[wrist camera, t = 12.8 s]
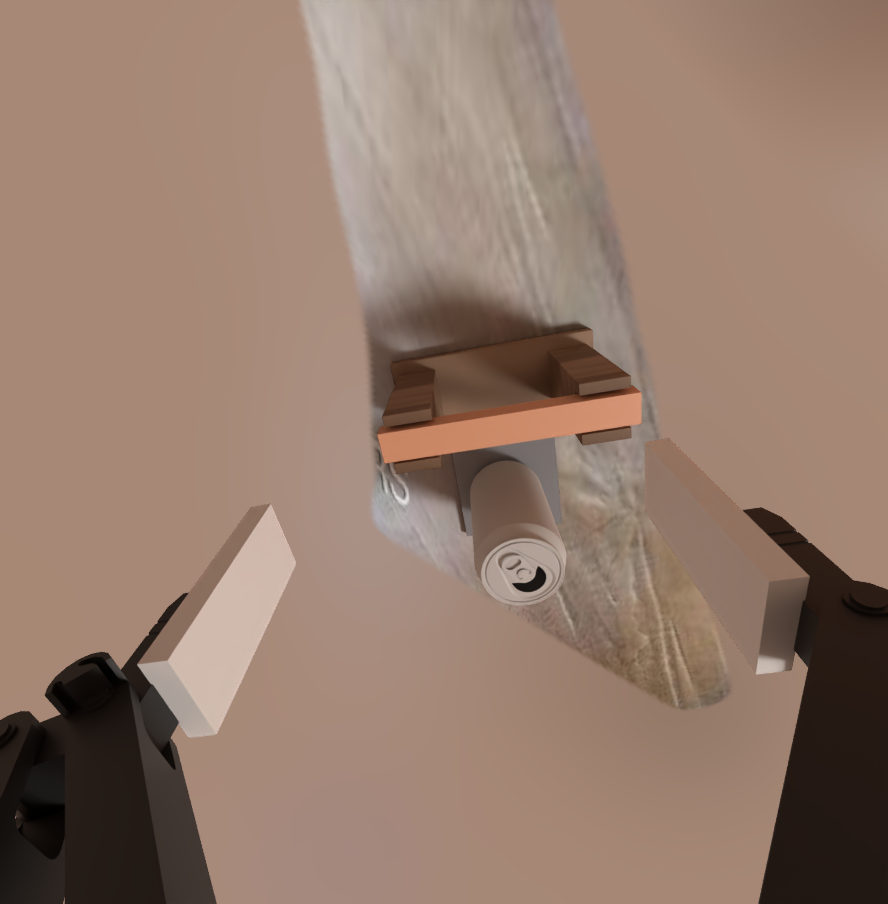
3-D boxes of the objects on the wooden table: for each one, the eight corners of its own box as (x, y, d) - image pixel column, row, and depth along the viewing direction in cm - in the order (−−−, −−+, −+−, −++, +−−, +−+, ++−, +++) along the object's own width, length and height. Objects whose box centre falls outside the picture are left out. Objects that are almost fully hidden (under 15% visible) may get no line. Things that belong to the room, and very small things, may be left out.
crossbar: (380, 426, 30) (377, 434, 28) (632, 385, 28) (641, 392, 27) (387, 453, 31) (384, 463, 29) (632, 415, 29) (641, 423, 28)
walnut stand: (391, 362, 38) (370, 402, 28) (588, 327, 36) (639, 357, 26) (406, 429, 40) (392, 488, 30) (592, 399, 39) (639, 451, 29)
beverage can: (499, 530, 44) (515, 625, 33) (455, 485, 42) (455, 570, 31) (554, 491, 42) (590, 578, 31) (510, 442, 40) (532, 517, 29)
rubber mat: (451, 449, 41) (451, 451, 40) (553, 433, 40) (554, 435, 39) (466, 533, 44) (467, 535, 44) (560, 519, 44) (561, 522, 43)
